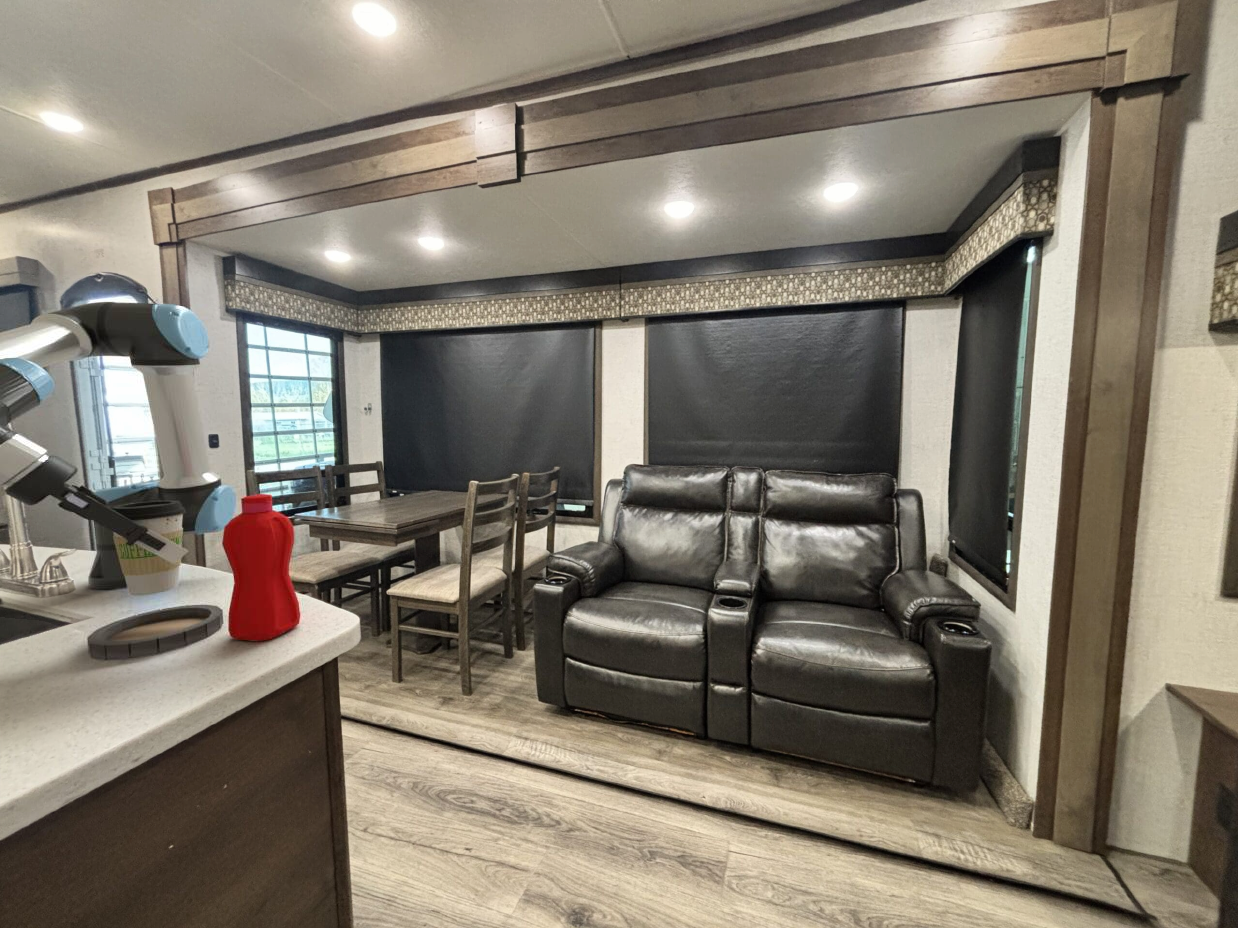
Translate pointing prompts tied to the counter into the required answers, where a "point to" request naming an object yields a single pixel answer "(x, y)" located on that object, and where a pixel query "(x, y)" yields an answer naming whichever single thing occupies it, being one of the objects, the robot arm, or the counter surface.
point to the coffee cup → (140, 564)
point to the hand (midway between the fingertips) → (175, 552)
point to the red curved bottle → (260, 571)
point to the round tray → (154, 632)
